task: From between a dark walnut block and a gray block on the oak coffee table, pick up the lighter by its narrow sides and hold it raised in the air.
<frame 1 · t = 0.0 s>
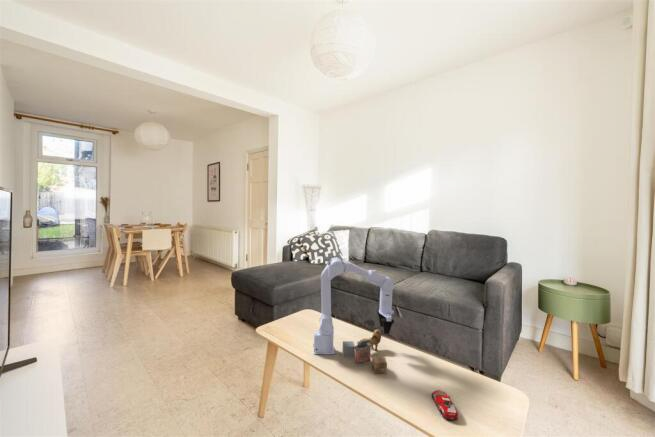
hand: (384, 330, 137), 10 cm above the table, tool pointing down, fingers open, 7 cm apart
lighter: (362, 362, 127), on the table
race car: (444, 408, 100), on the table
walnut block: (379, 371, 121), on the table
lion figurine: (369, 350, 137), on the table
gray block: (348, 354, 133), on the table
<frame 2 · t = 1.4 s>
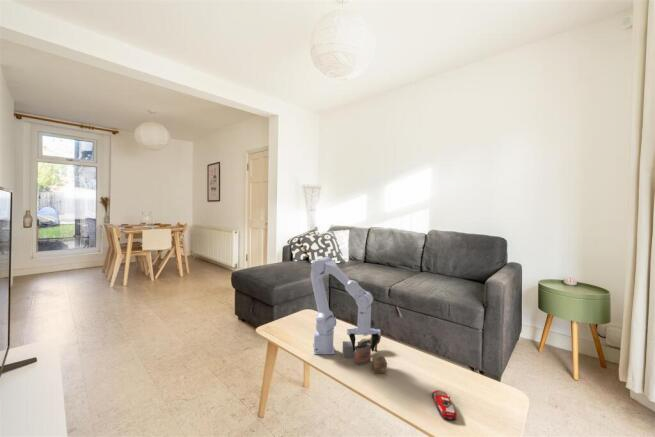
hand: (363, 350, 127), 5 cm above the table, tool pointing down, fingers closed on lighter, 7 cm apart
lighter: (362, 362, 127), on the table, touching gripper
everything else where it was.
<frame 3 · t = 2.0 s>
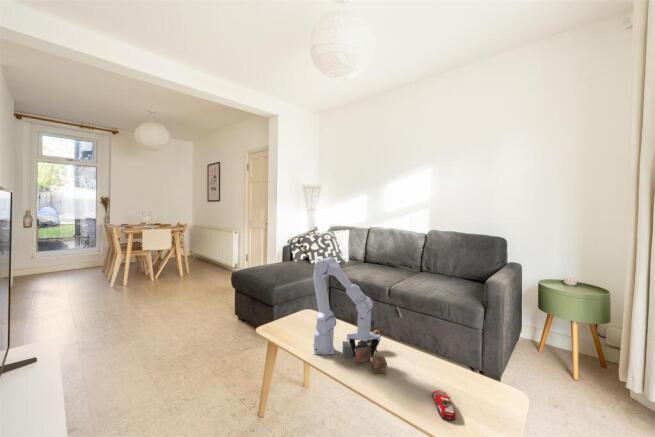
hand: (362, 355, 127), 3 cm above the table, tool pointing down, fingers closed on lighter, 7 cm apart
lighter: (362, 362, 127), on the table, touching gripper
everything else where it was.
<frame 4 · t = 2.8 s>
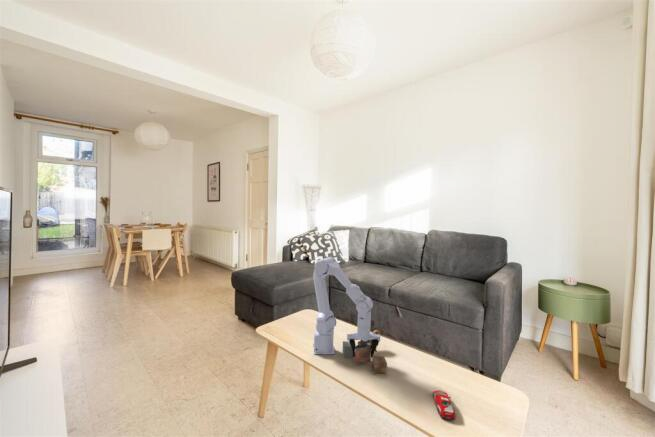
hand: (362, 355, 127), 3 cm above the table, tool pointing down, fingers closed on lighter, 7 cm apart
lighter: (362, 362, 127), on the table, touching gripper
everything else where it was.
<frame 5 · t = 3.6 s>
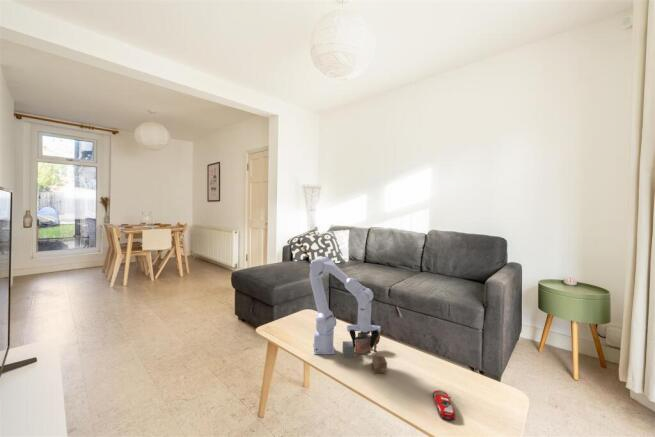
hand: (362, 346, 127), 7 cm above the table, tool pointing down, fingers closed on lighter, 7 cm apart
lighter: (362, 353, 127), point 4 cm above the table, touching gripper
everything else where it was.
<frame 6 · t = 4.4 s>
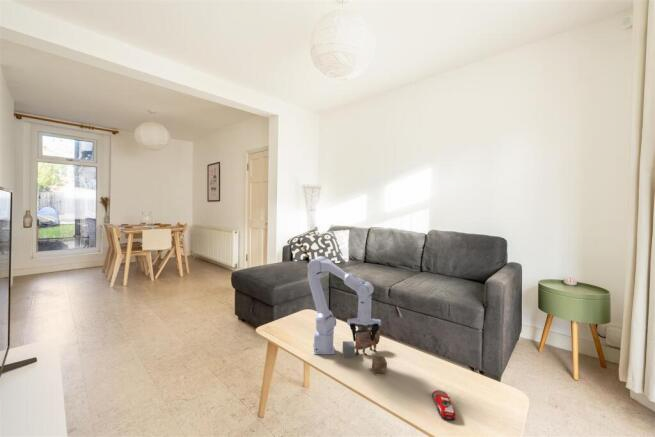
hand: (363, 340, 126), 10 cm above the table, tool pointing down, fingers closed on lighter, 7 cm apart
lighter: (363, 347, 127), point 7 cm above the table, touching gripper
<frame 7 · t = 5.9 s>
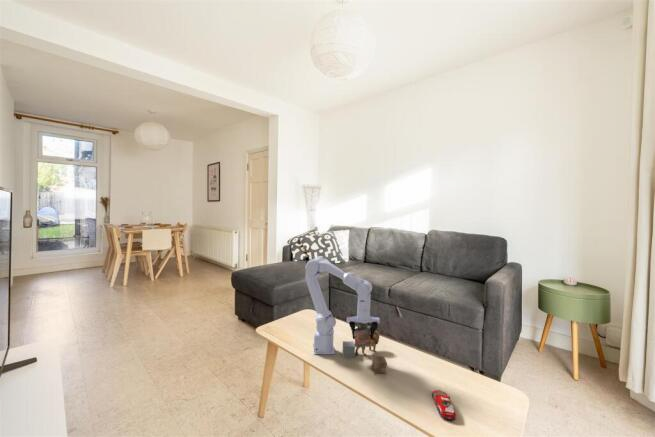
hand: (362, 338, 128), 10 cm above the table, tool pointing down, fingers closed on lighter, 7 cm apart
lighter: (362, 345, 129), point 7 cm above the table, touching gripper
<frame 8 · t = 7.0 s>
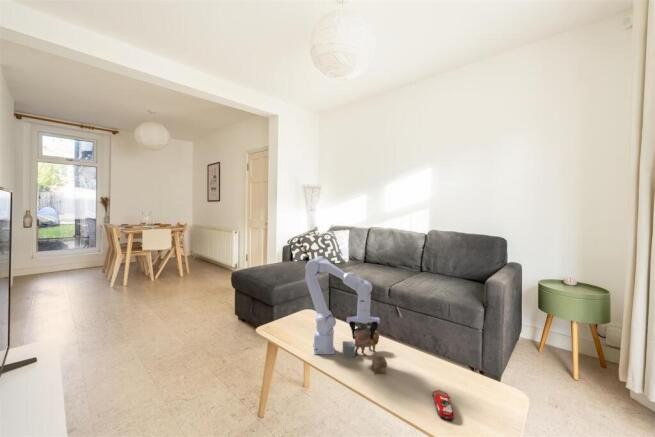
hand: (362, 338, 128), 10 cm above the table, tool pointing down, fingers closed on lighter, 7 cm apart
lighter: (362, 345, 129), point 7 cm above the table, touching gripper
at the end: lighter point 6.7 cm above the table; walnut block moved 0.1 cm from its start; gray block moved 0.1 cm from its start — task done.
